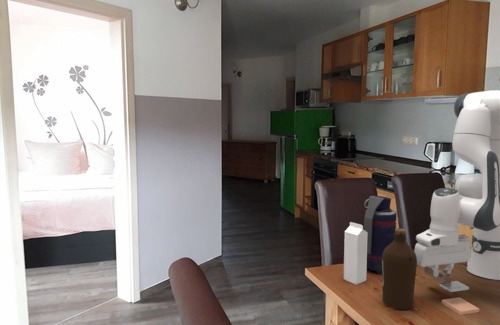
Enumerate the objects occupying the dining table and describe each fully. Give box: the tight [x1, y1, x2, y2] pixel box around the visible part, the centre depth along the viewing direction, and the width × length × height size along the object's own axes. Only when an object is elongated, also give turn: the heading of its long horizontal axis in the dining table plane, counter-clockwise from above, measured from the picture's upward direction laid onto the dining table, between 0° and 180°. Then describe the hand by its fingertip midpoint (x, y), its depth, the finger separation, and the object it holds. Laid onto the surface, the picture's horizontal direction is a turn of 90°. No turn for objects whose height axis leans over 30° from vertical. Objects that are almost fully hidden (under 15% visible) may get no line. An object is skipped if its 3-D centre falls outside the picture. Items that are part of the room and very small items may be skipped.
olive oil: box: [381, 227, 418, 311], centre depth 123 cm, size 11×11×25 cm
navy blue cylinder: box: [363, 195, 397, 275], centre depth 151 cm, size 14×12×30 cm
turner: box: [424, 266, 470, 293], centre depth 129 cm, size 7×15×3 cm, turn 14°
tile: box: [441, 296, 480, 316], centre depth 122 cm, size 7×2×8 cm
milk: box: [343, 221, 368, 286], centre depth 142 cm, size 6×6×22 cm
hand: (441, 275), depth 129 cm, fingers closed on turner, 2 cm apart
